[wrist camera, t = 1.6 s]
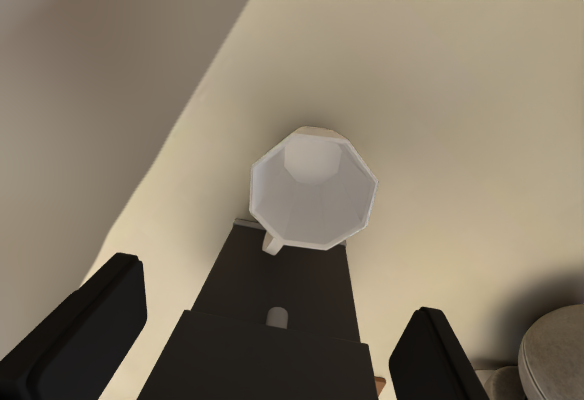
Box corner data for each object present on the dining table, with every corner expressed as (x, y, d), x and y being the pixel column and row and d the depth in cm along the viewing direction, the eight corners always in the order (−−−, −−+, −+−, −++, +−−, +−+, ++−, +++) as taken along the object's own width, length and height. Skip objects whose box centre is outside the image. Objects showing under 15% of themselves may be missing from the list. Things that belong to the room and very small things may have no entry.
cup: (376, 136, 21) (409, 175, 13) (309, 232, 25) (307, 301, 18) (294, 87, 20) (282, 102, 12) (239, 196, 24) (206, 254, 17)
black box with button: (236, 209, 24) (122, 419, 10) (348, 231, 24) (395, 470, 10) (229, 280, 28) (139, 506, 14) (326, 299, 28) (338, 542, 14)
